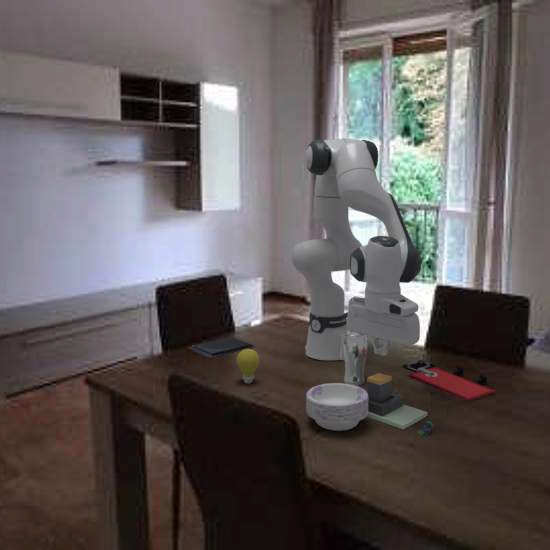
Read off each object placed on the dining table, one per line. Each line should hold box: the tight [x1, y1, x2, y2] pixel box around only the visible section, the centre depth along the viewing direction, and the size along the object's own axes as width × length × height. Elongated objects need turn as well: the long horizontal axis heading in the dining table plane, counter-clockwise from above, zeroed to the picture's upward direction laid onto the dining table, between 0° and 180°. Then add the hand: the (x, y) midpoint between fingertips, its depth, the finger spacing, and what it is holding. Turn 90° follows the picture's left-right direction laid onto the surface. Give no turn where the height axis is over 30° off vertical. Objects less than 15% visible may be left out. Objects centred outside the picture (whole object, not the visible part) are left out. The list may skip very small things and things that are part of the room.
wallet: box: [186, 336, 256, 359], centre depth 208 cm, size 20×2×15 cm
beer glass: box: [343, 330, 368, 386], centre depth 174 cm, size 7×7×15 cm
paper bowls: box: [305, 382, 369, 432], centre depth 147 cm, size 15×15×8 cm
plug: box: [366, 372, 393, 404], centre depth 154 cm, size 5×4×8 cm
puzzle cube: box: [416, 420, 434, 436], centre depth 143 cm, size 4×3×2 cm, turn 144°
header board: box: [366, 392, 428, 431], centre depth 155 cm, size 11×22×4 cm, turn 45°
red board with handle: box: [402, 359, 497, 402], centre depth 177 cm, size 30×3×15 cm
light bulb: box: [236, 348, 260, 384], centre depth 174 cm, size 7×7×10 cm
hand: (380, 354), depth 153 cm, fingers closed
